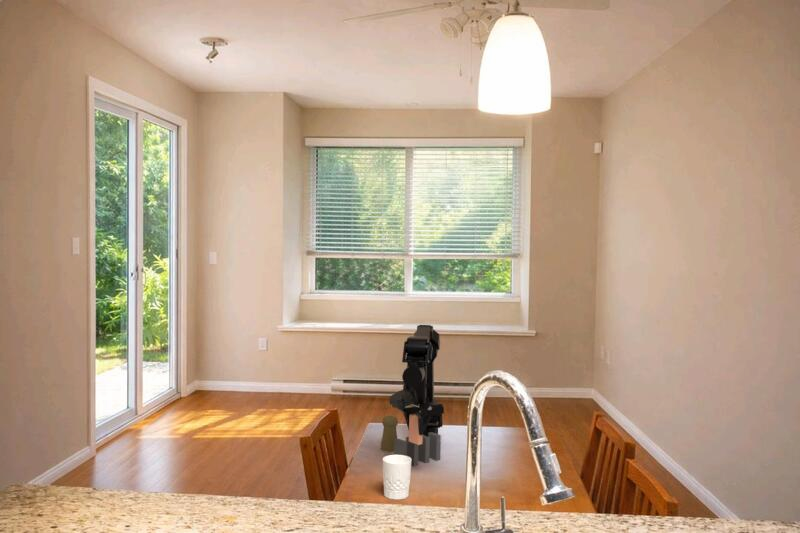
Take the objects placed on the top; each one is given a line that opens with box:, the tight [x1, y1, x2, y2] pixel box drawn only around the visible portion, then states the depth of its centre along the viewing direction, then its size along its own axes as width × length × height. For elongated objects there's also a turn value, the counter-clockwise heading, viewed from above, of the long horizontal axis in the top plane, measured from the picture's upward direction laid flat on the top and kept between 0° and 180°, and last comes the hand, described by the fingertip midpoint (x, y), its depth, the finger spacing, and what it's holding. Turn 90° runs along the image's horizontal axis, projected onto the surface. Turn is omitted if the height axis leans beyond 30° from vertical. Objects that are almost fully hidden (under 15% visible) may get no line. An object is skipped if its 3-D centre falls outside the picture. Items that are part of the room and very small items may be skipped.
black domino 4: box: [393, 438, 407, 456], centre depth 209 cm, size 2×4×8 cm, turn 37°
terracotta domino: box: [408, 414, 423, 445], centre depth 200 cm, size 2×4×8 cm, turn 38°
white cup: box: [382, 454, 412, 500], centre depth 185 cm, size 8×8×10 cm
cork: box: [380, 415, 399, 453], centre depth 227 cm, size 6×6×11 cm
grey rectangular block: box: [405, 436, 419, 467], centre depth 212 cm, size 2×4×8 cm, turn 37°
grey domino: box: [418, 435, 430, 464], centre depth 215 cm, size 2×4×8 cm, turn 37°
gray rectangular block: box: [428, 432, 442, 462], centre depth 217 cm, size 2×4×8 cm, turn 37°
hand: (415, 433), depth 200 cm, fingers closed on terracotta domino, 4 cm apart
